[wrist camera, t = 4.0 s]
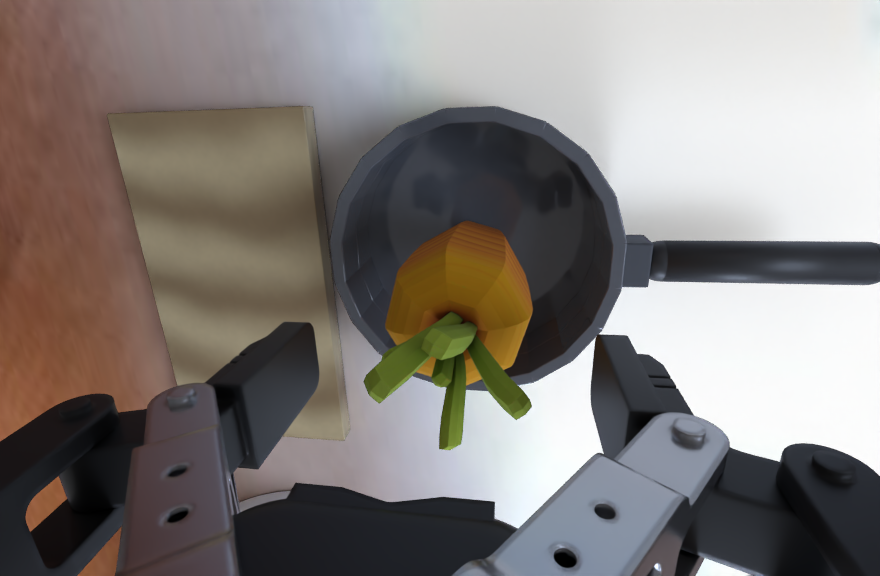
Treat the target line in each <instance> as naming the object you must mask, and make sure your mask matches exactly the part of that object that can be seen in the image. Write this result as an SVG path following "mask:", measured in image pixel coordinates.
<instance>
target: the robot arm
mask: <svg viewBox="0 0 880 576" xmlns="http://www.w3.org/2000/svg"><path fill="white" fill-rule="evenodd" d="M318 382H319V363H318V356H317V348H316V341H315V333H314V328H313V326H312V324H311V323H309V322H283V323H282V324H280V325H279V326H278V327H277V328H276V329H275V330H273V331H272V332H271V333H270V334H269V335H268V336H267V337H264V338H262V339H260V340H258V341H256V342H254V343H252V344H250V345H249V346H247V347H246V348H245V349H244V350H243V351H241V352H240V353H239V356H236V357H234V358H233V359H232V360H231V361H230V363H227V364H226V365H225V366H224V367H223V368H221V369H220V370H219V371H218V372H217V373H215V374H214V375H213V376H212V377H211V378H210V379H208V380H207V381H206V382H205V383H189V384H184V385H179V386H176V387H173V388H170V389H168V390H166V391H164V392H162V393H160V394H159V395H157V396H156V397H154V398H153V399H152V400H151V401H150V402H149V404H148V407H147V409H144V410H136V411H128V412H120V413H118V412H117V409H116V406H115V402H114V399H113V397H112V396H110V395H107V394H90V395H84V396H80V397H76V398H73V399H70V400H67V401H65V402H62V403H60V404H58V405H56V406H54V407H52V408H51V409H49V410H47V411H46V412H44V413H43V414H41V415H40V416H38V417H37V418H35V419H34V420H32V421H31V422H29V423H28V424H26V425H25V426H23V427H22V428H20V429H19V430H17V431H16V432H14V433H13V434H11V435H10V436H8V437H7V438H5V439H4V440H2V441H1V442H0V576H77V575H78V574H79V573H80V572H81V571H82V570H83V569H84V567H85V566H86V565H87V564H88V563H89V562H90V561H91V560H92V558H93V557H94V556H95V555H96V554H97V553H98V552H99V551H100V550H101V548H102V547H103V546H104V545H105V544H106V543H107V542H108V541H109V540H110V538H111V537H112V536H113V535H114V534H115V533H116V532H117V531H118V529H119V528H120V527H121V526H122V530H121V538H120V545H119V553H118V560H117V568H116V573H115V576H695V575H696V573H697V572H698V570H699V568H700V566H701V564H702V562H703V560H704V558H707V559H709V560H712V561H715V562H718V563H721V564H723V565H726V566H729V567H732V568H734V569H737V570H740V571H743V572H746V573H748V574H751V575H753V576H880V476H879V475H878V474H877V473H876V472H875V471H874V470H872V469H871V468H870V467H868V466H867V465H866V464H864V463H863V462H861V461H859V460H858V459H856V458H854V457H852V456H850V455H848V454H845V453H843V452H840V451H838V450H835V449H832V448H828V447H825V446H820V445H815V444H805V443H801V444H793V445H790V446H788V447H786V448H785V449H784V451H783V452H782V456H781V460H780V462H778V461H774V460H770V459H766V458H762V457H759V456H755V455H751V454H747V453H744V452H740V451H738V450H735V449H732V448H730V443H729V439H728V438H727V436H726V435H725V433H724V432H723V431H722V430H721V429H719V428H718V427H717V426H715V425H714V424H712V423H710V422H709V421H707V420H704V419H702V418H699V417H696V416H694V415H693V413H692V411H691V410H690V408H689V407H688V405H687V403H686V402H685V400H684V398H683V397H682V395H681V393H680V392H679V390H678V389H676V385H675V384H674V382H673V380H672V379H670V375H669V374H668V372H667V370H666V369H665V367H664V365H662V364H661V363H660V362H658V361H657V360H655V359H654V358H653V357H651V356H650V355H645V354H637V353H636V351H635V349H634V347H633V345H632V344H631V342H630V340H629V338H628V336H625V335H600V334H598V335H597V337H596V341H595V349H594V359H593V370H592V380H591V406H592V411H593V415H594V419H595V423H596V426H597V430H598V434H599V437H600V441H601V445H602V449H603V452H604V454H602V453H597V454H595V455H594V456H593V457H591V458H590V459H589V460H588V461H587V462H586V463H585V464H584V465H583V466H582V467H581V468H580V469H579V470H578V471H577V472H576V473H575V474H574V475H573V476H572V477H571V478H570V479H569V480H568V481H567V482H566V483H565V484H564V485H563V486H562V487H561V488H560V489H559V490H558V491H557V492H555V493H554V494H553V495H552V496H551V497H550V498H549V499H548V500H547V501H546V502H545V503H544V504H543V505H542V506H541V507H540V508H539V509H538V510H537V511H536V512H535V513H534V514H533V515H532V516H531V517H530V518H529V519H528V520H527V521H526V522H525V523H524V524H523V525H522V526H521V527H520V528H519V529H517V528H515V527H513V526H511V525H509V524H507V523H505V522H502V521H499V520H496V519H494V516H495V502H491V501H481V500H470V499H460V498H449V497H438V498H429V499H419V500H410V501H400V502H385V501H382V500H379V499H376V498H373V497H370V496H367V495H364V494H361V493H358V492H355V491H352V490H349V489H346V488H343V487H334V486H323V485H313V484H302V483H295V485H294V487H293V488H292V490H291V491H290V493H289V495H288V496H287V498H286V499H280V500H275V501H270V502H266V503H263V504H260V505H257V506H254V507H251V508H249V509H246V510H244V511H242V512H240V507H239V501H238V495H237V489H236V483H235V479H234V474H233V472H234V471H235V470H236V469H237V467H239V468H249V469H259V467H260V466H261V465H262V463H263V462H264V460H265V459H266V458H267V456H268V455H269V454H270V452H271V451H272V450H273V448H274V447H275V446H276V444H277V443H278V441H279V440H280V439H281V437H282V436H283V435H284V433H285V432H286V431H287V429H288V428H289V426H290V425H291V424H292V422H293V421H294V420H295V418H296V417H297V416H298V414H299V413H300V412H301V410H302V409H303V407H304V406H305V405H306V403H307V402H308V401H309V399H310V398H311V397H312V395H313V394H314V392H315V391H316V389H317V386H318ZM58 476H59V478H60V480H61V483H62V486H63V488H64V491H65V494H66V496H67V500H65V501H64V502H63V503H62V504H61V505H60V506H59V507H58V508H57V509H56V510H54V511H53V512H52V513H51V514H50V515H49V516H48V517H47V518H46V519H44V520H43V521H42V522H41V523H40V524H39V525H38V526H37V527H36V528H35V529H33V530H32V531H31V532H30V531H29V528H28V526H27V524H26V519H25V516H26V510H27V508H28V505H29V503H30V502H31V500H32V499H33V498H34V496H35V495H36V494H37V493H38V492H40V491H41V490H42V489H43V488H44V487H46V486H47V485H48V484H49V483H50V482H52V481H53V480H54V479H55V478H56V477H58Z"/></svg>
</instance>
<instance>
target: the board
mask: <svg viewBox="0 0 880 576" xmlns="http://www.w3.org/2000/svg"><path fill="white" fill-rule="evenodd" d="M107 118H108V121H109V125H110V129H111V133H112V137H113V141H114V144H115V148H116V152H117V156H118V160H119V164H120V167H121V171H122V175H123V179H124V183H125V187H126V190H127V194H128V198H129V202H130V206H131V210H132V213H133V217H134V221H135V225H136V229H137V233H138V237H139V240H140V244H141V248H142V252H143V256H144V260H145V263H146V267H147V271H148V275H149V279H150V283H151V286H152V290H153V294H154V298H155V302H156V306H157V309H158V313H159V317H160V321H161V325H162V329H163V332H164V336H165V340H166V344H167V348H168V352H169V355H170V359H171V363H172V367H173V371H174V375H175V378H176V382H177V386H179V385H184V384H189V383H205V382H206V381H207V380H208V379H210V378H211V377H212V376H213V375H214V374H215V373H217V372H218V371H219V370H220V369H221V368H223V367H224V366H225V365H226V364H227V363H230V361H231V360H232V359H233V358H234V357H236V356H239V353H240V352H241V351H243V350H244V349H245V348H246V347H247V346H249V345H250V344H252V343H254V342H256V341H258V340H260V339H262V338H264V337H267V336H268V335H269V334H270V333H271V332H272V331H273V330H275V329H276V328H277V327H278V326H279V325H280V324H282V323H283V322H309V323H311V324H312V326H313V328H314V333H315V341H316V348H317V356H318V363H319V382H318V386H317V389H316V391H315V392H314V394H313V395H312V397H311V398H310V399H309V401H308V402H307V403H306V405H305V406H304V407H303V409H302V410H301V412H300V413H299V414H298V416H297V417H296V418H295V420H294V421H293V422H292V424H291V425H290V426H289V428H288V429H287V431H286V432H285V433H284V435H283V437H297V438H311V439H324V440H338V441H345V439H346V437H347V435H348V433H349V431H350V424H349V415H348V406H347V398H346V389H345V381H344V372H343V364H342V355H341V346H340V338H339V329H338V321H337V312H336V303H335V295H334V286H333V278H332V269H331V261H330V252H329V243H328V235H327V226H326V218H325V209H324V200H323V192H322V183H321V175H320V166H319V158H318V149H317V140H316V132H315V123H314V115H313V107H310V106H292V107H266V108H240V109H214V110H188V111H162V112H136V113H110V114H107Z"/></svg>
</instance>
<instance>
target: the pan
mask: <svg viewBox="0 0 880 576" xmlns="http://www.w3.org/2000/svg"><path fill="white" fill-rule="evenodd" d="M464 221H472V222H475V223H478V224H482V225H485V226H489V227H492V228H496V229H498V230H500V231H501V232H502V233H503V234H504V236H505V237H506V239H507V241H508V243H509V245H510V247H511V248H512V250H513V252H514V254H515V256H516V258H517V259H518V261H519V263H520V265H521V267H522V269H523V271H524V272H525V275H526V279H527V282H528V286H529V290H530V296H531V301H532V307H533V312H532V316H531V318H530V321H529V324H528V326H527V329H526V332H525V334H524V337H523V340H522V343H521V345H520V348H519V351H518V353H517V356H516V359H515V361H514V363H513V365H512V366H511V367H509V368H507V369H504V371H505V373H506V374H507V375H508V376H509V377H510V378H511V379H512V380H513V381H514V382H515V383H516V384H517V385H518V386H520V385H525V384H529V383H534V381H535V382H536V381H538V380H539V379H541V378H543V377H545V376H547V375H548V374H550V373H552V372H554V371H556V370H558V369H559V368H561V367H563V366H565V365H567V364H568V363H570V362H571V361H573V360H574V359H575V358H576V357H577V356H578V355H579V354H580V353H581V352H582V351H583V350H584V349H585V348H586V347H587V346H588V345H589V344H590V342H591V341H592V340H593V339H594V338H595V337H596V336H597V335H598V334H599V333H600V332H601V331H602V329H603V328H604V326H605V324H606V321H607V319H608V317H609V315H610V313H611V311H612V309H613V307H614V305H615V303H616V301H617V298H618V296H619V294H620V292H621V289H622V285H623V276H624V267H625V258H626V250H627V239H626V235H625V230H624V226H623V222H622V218H621V213H620V209H619V205H618V201H617V197H616V196H615V193H614V191H613V190H612V188H611V187H610V185H609V184H608V182H607V181H606V179H605V178H604V176H603V175H602V173H601V171H600V170H599V168H598V167H597V165H596V164H595V162H594V161H593V159H592V158H591V156H590V155H589V154H588V153H587V152H586V151H585V150H584V149H582V148H581V147H580V146H578V145H577V144H576V143H574V142H573V141H572V140H570V139H569V138H568V137H566V136H565V135H564V134H562V133H561V132H560V131H558V130H557V129H556V128H554V127H553V126H552V125H550V124H549V123H546V121H543V120H539V119H536V118H533V117H530V116H527V115H523V114H520V113H517V112H514V111H511V110H507V109H504V108H501V107H496V106H488V107H460V108H445V109H441V110H439V111H436V112H433V113H431V114H428V115H426V116H423V117H421V118H418V119H416V120H413V121H410V122H408V123H405V124H403V125H400V126H399V127H397V128H395V129H394V130H393V131H392V132H391V133H390V134H388V135H387V136H386V137H385V138H384V139H383V140H381V141H380V142H379V143H378V144H377V145H376V146H374V147H373V148H372V149H371V150H370V151H369V152H367V153H366V154H365V155H364V156H363V157H362V159H360V161H359V163H358V165H357V166H356V168H355V170H354V171H353V173H352V175H351V177H350V178H349V180H348V182H347V183H346V185H345V187H344V189H343V190H342V192H341V194H340V196H339V198H338V202H337V207H336V212H335V217H334V222H333V227H332V231H331V236H330V248H331V256H332V265H333V274H334V282H335V285H336V288H337V290H338V292H339V294H340V297H341V299H342V301H343V303H344V306H345V308H346V310H347V312H348V315H349V317H350V319H351V321H352V323H353V324H354V325H355V326H356V327H357V329H358V330H359V331H360V332H361V333H362V334H363V336H364V337H365V338H366V339H367V340H368V341H369V343H370V344H371V345H372V346H373V347H374V349H375V350H376V351H377V352H379V354H381V355H382V356H383V354H384V353H385V352H387V351H388V350H389V349H391V348H393V347H395V346H397V345H396V344H395V342H394V341H393V339H392V338H391V336H390V335H389V333H388V331H387V330H386V328H385V323H386V318H387V314H388V310H389V306H390V301H391V297H392V293H393V289H394V285H395V280H396V276H397V273H398V270H399V268H400V267H401V266H402V265H403V264H404V263H405V261H406V260H407V259H408V258H409V257H410V256H411V254H412V253H414V252H415V251H416V250H417V249H418V248H419V247H420V246H421V245H422V244H423V243H424V242H426V241H428V240H430V239H432V238H434V237H435V236H437V235H439V234H441V233H443V232H445V231H446V230H448V229H450V228H452V227H454V226H456V225H457V224H459V223H461V222H464ZM413 376H414V377H417V378H420V379H423V380H426V381H428V382H431V383H433V381H432V379H431V377H430V376H427V375H424V374H421V373H417V372H415V373H414V374H413ZM446 388H447V386H446ZM466 390H478V391H488V390H487V388H486V386H485V384H484V382H483V380H482V379H481V380H479V381H476V382H474V383H471V384H469V385H467V386H466Z"/></svg>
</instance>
